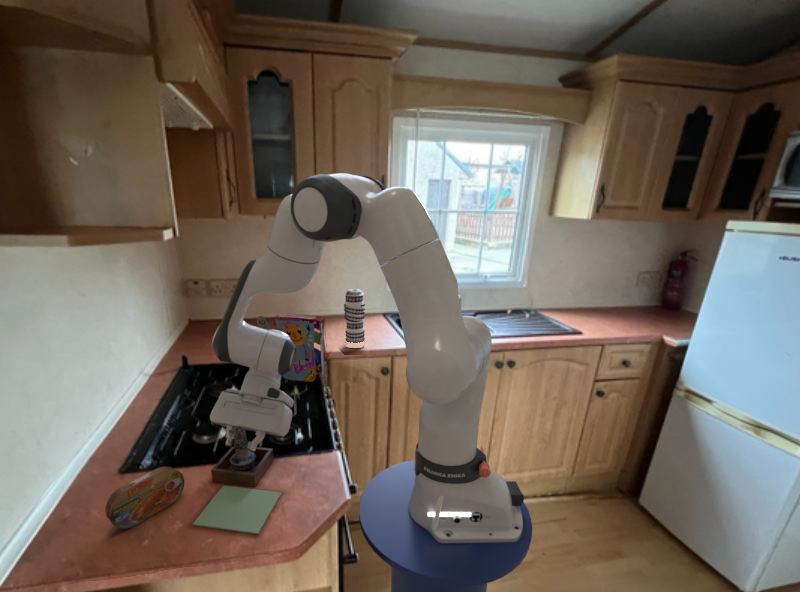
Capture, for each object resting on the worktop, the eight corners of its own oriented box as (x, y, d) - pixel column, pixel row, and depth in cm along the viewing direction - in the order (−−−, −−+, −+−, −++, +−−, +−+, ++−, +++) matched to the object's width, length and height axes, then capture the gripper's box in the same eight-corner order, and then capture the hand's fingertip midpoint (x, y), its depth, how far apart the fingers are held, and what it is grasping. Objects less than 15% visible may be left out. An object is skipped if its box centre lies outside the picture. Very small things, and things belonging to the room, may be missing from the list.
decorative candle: (358, 341, 189) (357, 287, 180) (369, 346, 182) (369, 290, 173) (341, 345, 184) (339, 289, 175) (352, 350, 177) (350, 293, 168)
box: (258, 380, 148) (251, 315, 139) (267, 374, 153) (260, 310, 145) (322, 389, 141) (318, 320, 132) (329, 381, 146) (326, 315, 138)
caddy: (274, 459, 103) (272, 448, 101) (255, 486, 93) (254, 475, 92) (234, 455, 104) (233, 444, 103) (212, 481, 95) (210, 470, 94)
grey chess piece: (259, 462, 102) (254, 419, 97) (254, 477, 96) (249, 432, 92) (235, 463, 101) (228, 420, 97) (229, 478, 96) (222, 434, 92)
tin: (115, 537, 79) (105, 502, 76) (108, 530, 81) (98, 495, 78) (188, 495, 90) (181, 463, 87) (180, 489, 92) (174, 457, 89)
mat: (281, 493, 91) (281, 492, 90) (258, 534, 79) (258, 533, 79) (223, 486, 93) (223, 485, 93) (192, 525, 82) (192, 523, 82)
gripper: (216, 383, 101) (195, 437, 96) (290, 393, 95) (271, 452, 90) (229, 391, 107) (210, 444, 102) (300, 402, 101) (283, 458, 96)
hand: (239, 448), depth 96 cm, fingers open, 4 cm apart
